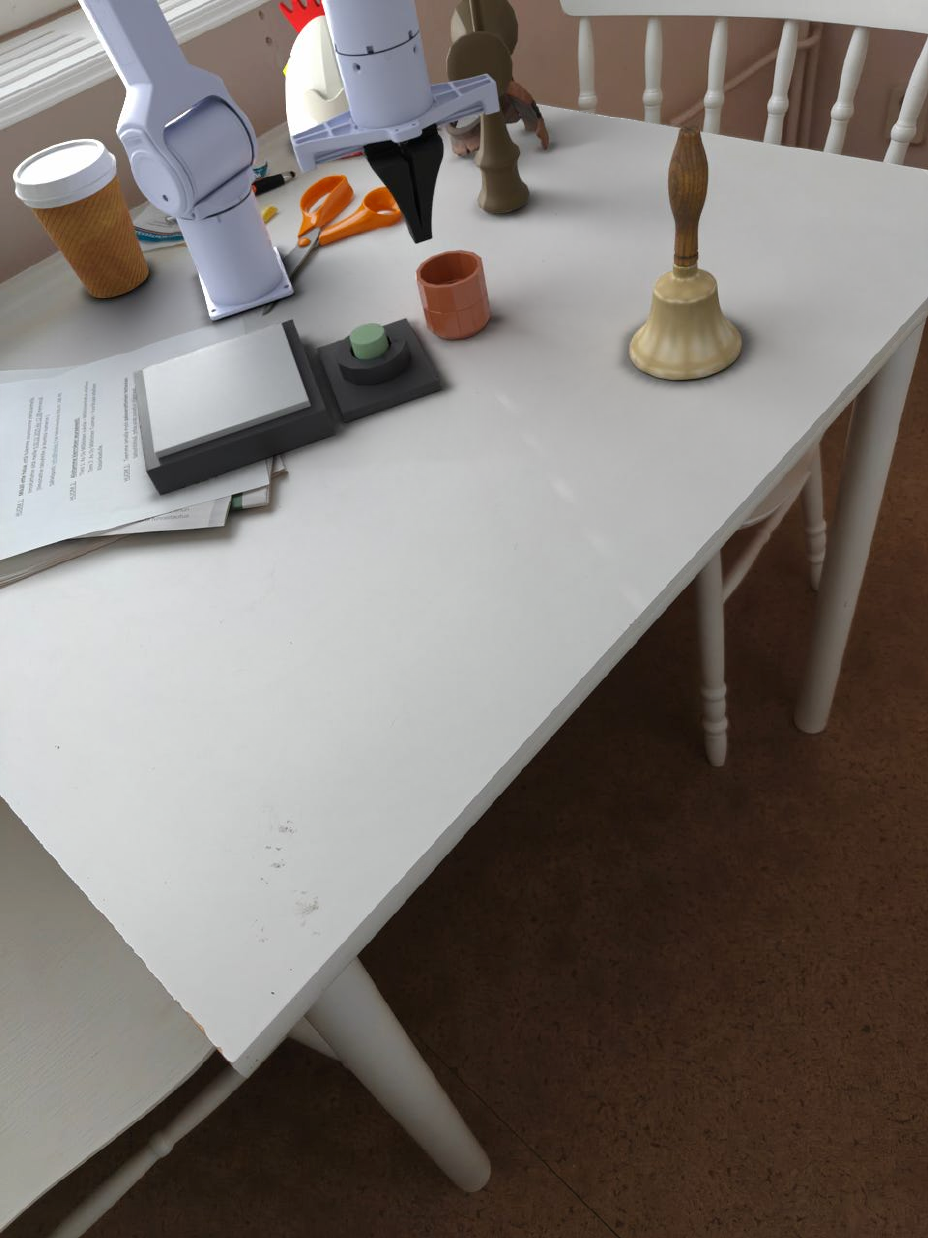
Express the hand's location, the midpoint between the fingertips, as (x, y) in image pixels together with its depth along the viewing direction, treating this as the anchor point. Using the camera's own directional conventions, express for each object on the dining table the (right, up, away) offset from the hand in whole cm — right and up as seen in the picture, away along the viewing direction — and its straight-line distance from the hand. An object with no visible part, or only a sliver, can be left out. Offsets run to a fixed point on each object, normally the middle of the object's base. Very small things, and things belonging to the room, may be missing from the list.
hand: (420, 235), depth 70 cm
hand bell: (+20, -9, 0) cm, 22 cm away
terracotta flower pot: (+3, -4, +7) cm, 9 cm away
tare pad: (-4, -9, +5) cm, 11 cm away
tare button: (-4, -8, +3) cm, 9 cm away
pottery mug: (+7, +20, +27) cm, 35 cm away
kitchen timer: (-10, +27, +37) cm, 47 cm away
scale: (-15, -13, +4) cm, 20 cm away
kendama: (+7, +11, +19) cm, 23 cm away
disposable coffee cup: (-31, +5, +23) cm, 39 cm away
